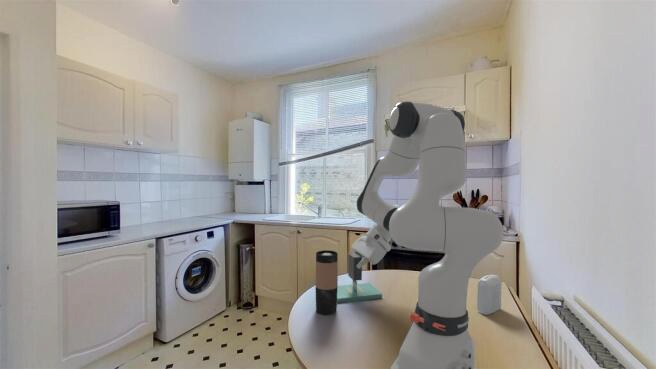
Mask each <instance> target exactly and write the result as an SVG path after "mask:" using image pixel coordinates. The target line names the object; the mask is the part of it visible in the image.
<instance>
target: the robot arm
mask: <svg viewBox="0 0 656 369" xmlns="http://www.w3.org/2000/svg"><path fill="white" fill-rule="evenodd" d="M388 124H389V125H388V126H389V130H390V132H391V133H392V135H393V137H392V139H391V141H390V145H389V148H388V151H387V153H386V154H385V156H382V157H380V158H378V160H377V161H376V163H375V164H374V166H373V168H372V170H371V172H370V175H369V177H368V179H367V181H366V183H365V185H364V187H363V189H362V191H361V193H360V194H359V196H358V197H357V199H356V209H357V211H358V212H359V213H360V214H361V215H363V216H365V217H367V218H369V219H370V220H371V221H372V222H374V223H375V224H373V225H372V226H371V228H370V229H369V230H368V231H367V232H366V233H365V235H361V236H360V237H359V238H357V239H356V240H355V241H354V242H353V243H352V244H351V247H350V248H351V249H352V251H353V252H352V253H357V254H358V255H360V256H361V257H362V260H361V261H360V262H357V264H356V265H355V266H356V267H357V268H358V269H360V268H361V267H362V268H363V266H365V265H366V264H368V263H370V264H372V265H376V264H378V263H379V262H380V261H382V259H383V258H384V256H386V254H387V253H388V252H389V251H391V249H392V246H391V245H390V243H389V242H390V241H391V240H393V242H394V244H396V245H397V246H401V247H404V248H407V249H411V250H415V251H416V250H417V251H429V252H442V253H444V256H443V257H442V258H441V259H440V260H439V261H437V262H434V263H432V264H429V265H427V266H426V267H423V269H422V270H421V271H420V273H419V275H418V280H417V281H418V282H417V284H418V285H417V288H418V289H417V291H418V292H417V302H416V305H415V308H414V312H413V311H411V312H410V315H409V317H408V318H409V322H410V321H411V322H412V324H411V326H410V329H409V330H408V332H407V334H406V336H405V338H404V340H403V343H402V344H401V347H400V349H399V352H398V353H399V354H398V355H397V357H396V359H395V360H394V362H393V363H392V364H391V366H390V368H389V369H477V368H476V348H475V341H474V339H473V338H472V336H471V335H470V333H469V330H468V329H469V321H470V318H469V311H468V310H467V302H468V301H467V300H468V299H467V298H468V290H469V283H470V282H469V281H470V278H471V275H472V273H473V271H474V270H475V268H476V267H477V265H478V264H479V263H480V262H481V261H482V260H483V259H484V258H486V257H487V256H488V255H491V254H492V253H494V252H496V251H497V249H499V247H500V246H502V245H501V244H502V243H503V239H504V227H503V223H502V222H501V220H500V218H499V217H498V216H497V215H496V213H494V212H492V211H489V210H483V209H478V208H474V207H461V206H460V207H458V206H457V207H456V206H455V207H454V206H442V205H440V200H441V199H442V198H444V197H445V196H448V195H451V194H453V193H454V192H456V191H458V190H460V189H462V187H463V186H464V185H465V183H466V182H467V164H466V163H467V161H466V160H467V159H466V158H467V157H466V156H467V155H466V141H465V135H464V131H465V127H466V122H465V118H464V115H463V114H462V113H460V111H458V110H454V109H451V108H445V107H441V106H437V105H433V104H429V103H423V102H422V103H419V102H411V101H401V102H400V101H399V102H398V103H397V104H395V105H394V107H393V108H392V110H391V112H390V116H389V122H388ZM418 166H419V171H418V179H417V184H416V187H415V189H414V191H413V193H412V195H411V196H410V198H409V199H408V200H406V202H405V203H404V204H402V205H399V204H393V203H391V202H390V201H388V200H386V199H385V198H383V197H382V196H380V194H379V193H378V192H379V188H380V187H381V184H382V183H383V181H384V178H385V177H386V176H391V177H404V176H408V175H410V174H412V173H413V172H414V171H416V169H417V167H418Z"/></svg>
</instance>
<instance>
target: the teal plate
mask: <svg viewBox="0 0 656 369" xmlns="http://www.w3.org/2000/svg"><path fill="white" fill-rule="evenodd" d="M382 298H383V293H382V292H381V291H379V290H378V289H377V288H376V287H375V286H374V285H373V284H371V282H366V283H364V282H363V283H358V280H357V281H353V280H352V284H343V285H338V288H337V304H339V303H349V302H356V301H357V302H358V301H364V300H365V301H366V300H375V299H382Z"/></svg>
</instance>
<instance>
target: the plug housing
mask: <svg viewBox="0 0 656 369" xmlns="http://www.w3.org/2000/svg"><path fill="white" fill-rule="evenodd" d="M362 258H363V257H362V256H360V255H358V254H357V253H353V252H352V253H348V264H347V266H348V268H347V270H348V271H347V272H348V273H347V275H348V277H349V278H350V279H351V280H352V282H353V281H357V282H358V281H362V278H363V266H362V267H361V268H360V269H358V268H357V267H356V266H355V265H356V264H357V262H360V261H361V260H362Z"/></svg>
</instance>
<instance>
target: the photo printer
mask: <svg viewBox="0 0 656 369" xmlns="http://www.w3.org/2000/svg"><path fill="white" fill-rule="evenodd" d="M502 285H503V284H502V280H501V277H499V276H498V275H495V274H488V275H484V276H482V277H481V278H480V279H479V281H478V282H477V295H476V296H477V298H476V300H477V302H476V306H477V307H476V308H477V310H476V311H477V312H478V313H480V314H482V315H485V316H487V315H492V314H493V313H496V312H497V311H500V310H501V308H502Z"/></svg>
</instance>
